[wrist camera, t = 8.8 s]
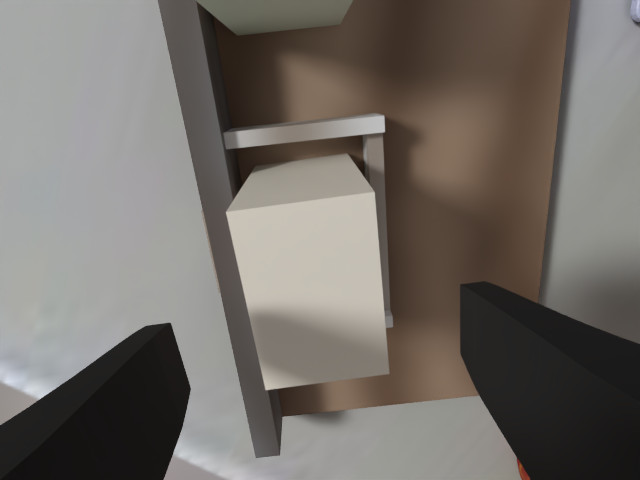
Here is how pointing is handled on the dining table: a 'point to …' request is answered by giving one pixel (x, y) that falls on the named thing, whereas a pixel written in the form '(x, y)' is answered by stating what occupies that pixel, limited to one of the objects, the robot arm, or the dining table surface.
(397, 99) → the walnut shelf
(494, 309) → the robot arm
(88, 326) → the dining table surface
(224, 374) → the dining table surface
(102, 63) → the dining table surface
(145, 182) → the dining table surface
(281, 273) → the cream carton
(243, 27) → the sage carton
